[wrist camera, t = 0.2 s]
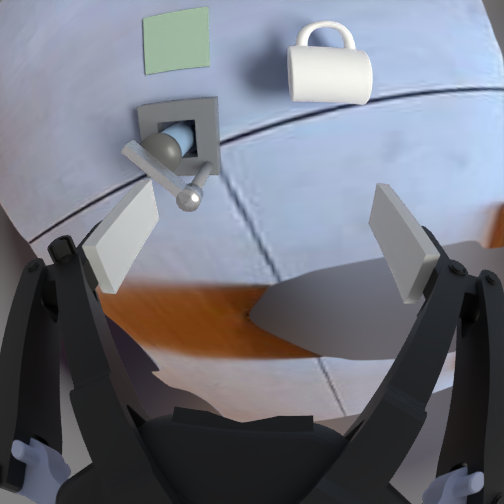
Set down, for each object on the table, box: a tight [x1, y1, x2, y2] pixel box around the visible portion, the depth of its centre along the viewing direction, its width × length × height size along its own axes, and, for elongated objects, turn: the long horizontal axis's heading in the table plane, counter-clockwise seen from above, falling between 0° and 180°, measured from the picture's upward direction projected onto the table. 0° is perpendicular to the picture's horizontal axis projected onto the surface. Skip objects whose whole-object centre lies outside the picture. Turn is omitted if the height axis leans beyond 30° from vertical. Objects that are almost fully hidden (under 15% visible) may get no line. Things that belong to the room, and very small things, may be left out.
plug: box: [140, 121, 196, 172], centre depth 36 cm, size 6×6×10 cm
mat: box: [143, 7, 210, 75], centre depth 30 cm, size 10×10×1 cm
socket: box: [137, 97, 221, 189], centre depth 35 cm, size 12×12×12 cm
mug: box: [287, 21, 372, 105], centre depth 28 cm, size 12×10×8 cm
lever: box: [121, 140, 203, 212], centre depth 30 cm, size 11×3×2 cm, turn 45°
